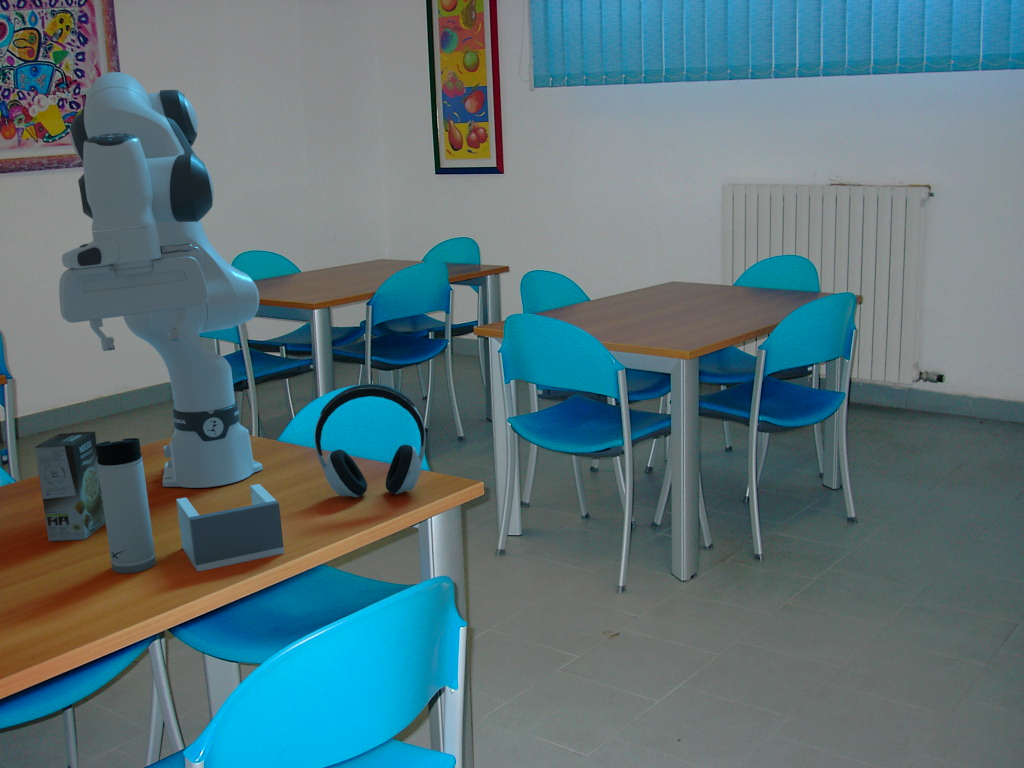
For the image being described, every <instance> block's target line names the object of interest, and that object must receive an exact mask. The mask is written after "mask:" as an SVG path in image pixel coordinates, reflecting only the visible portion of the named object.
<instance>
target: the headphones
mask: <svg viewBox="0 0 1024 768" xmlns="http://www.w3.org/2000/svg"><path fill="white" fill-rule="evenodd" d="M368 397H372V398H373V397H374V398H382V399H385V400H388V401H391V402H394V403H395V404H398V405H399V406H401V407H402V408H403V409H404V410H405V411H407V412H408V413H409V415H411V416H412V418H413V419H414V421H415V423H416V425H417V428H418V431H419V435H420V437H419V438H420V447H419V453H418V452H417V449H416V447H414V445H410V444H402V445H400V446H399V447H398V448H397V449H396V451H395V454H394V456H393V457H392V460H391V463H390V464H389V465H390V466H389V468H388V471H387V475H386V478H385V484H384V485H385V489H386V490H387V491H388V492H389V493H392V494H394V495H399V494H401V493H403V492H405V491H412V490H413V489H414V488H415V487H416V484H417V482H418V480H419V478H420V475H421V472H422V466H423V465H422V464H423V460H424V456H425V450H426V443H427V442H426V441H427V438H426V429H425V425H424V424H425V423H424V420H423V418H422V416H421V414H420V411H418V409H417V407H416V406H415V403H414V402H413V401H412V400H411V399H410V398H409V397H408V396H406V395H405V394H403V393H402V392H400V391H398V390H397V389H394V388H392V387H390V386H387V385H383V384H375V383H367V384H365V383H364V384H363V383H362V384H358V385H355V386H351V387H348V388H346V389H344V390H342V391H341V392H339V393H337V394H336V395H335V396H334V397H332V398H331V399H330V400H329V401H328V402H327V403H326V404H325V405H324V406H323V408H322V409H321V411H320V415H319V417H318V420H317V421H316V425H315V430H314V444H315V445H314V446H315V447H314V448H315V450H316V455H317V457H318V460H319V462H320V463H319V464H320V466H321V468H322V469H323V471H324V475H325V479H326V481H327V483H328V484H329V486H330V487H331V489H332V490H333V491H334V492H335V493H336V494H337V495H339V497H341V498H343V497H354V498H359V497H361V496H363V495H364V494H365V493H366V492H367V489H368V482H367V481H366V478H365V476H364V474H363V473H362V471H361V469H360V468H359V466H358V465H357V463H356V462H355V461H354V459H353V458H352V457H351V456H350V455H349V454H348V452H346V451H345V450H343V449H335V450H333V451H331V452H330V453H329V454H328V455H327V456H326V460H325V457H324V455H323V451H322V444H321V443H322V432H323V429H324V426H325V424H326V423H327V420H328V419H329V418H330V416H331V415H332V414H333V413H334V412H335V411H336V410H337V409H338V408H340V407H341V406H343V405H345V404H346V403H348V402H350V401H352V400H356V399H361V398H368Z"/></svg>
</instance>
